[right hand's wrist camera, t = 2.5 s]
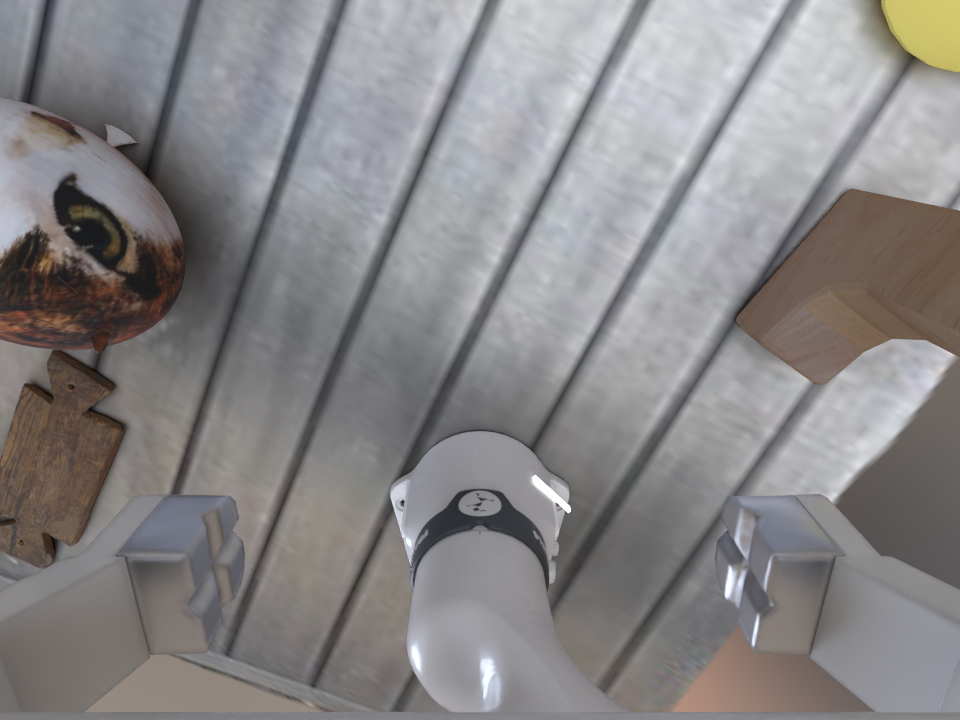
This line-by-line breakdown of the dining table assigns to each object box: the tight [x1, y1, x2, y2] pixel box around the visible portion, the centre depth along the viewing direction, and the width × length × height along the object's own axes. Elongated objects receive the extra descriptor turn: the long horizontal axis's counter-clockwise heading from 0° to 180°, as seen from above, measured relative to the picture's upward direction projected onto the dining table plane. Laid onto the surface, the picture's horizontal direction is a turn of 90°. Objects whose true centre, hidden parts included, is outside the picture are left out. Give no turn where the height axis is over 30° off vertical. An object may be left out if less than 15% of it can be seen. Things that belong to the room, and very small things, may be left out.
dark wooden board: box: [0, 350, 124, 568], centre depth 64 cm, size 26×2×10 cm
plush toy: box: [0, 97, 185, 354], centre depth 48 cm, size 22×18×20 cm
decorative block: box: [736, 189, 960, 385], centre depth 44 cm, size 8×15×30 cm, turn 145°
